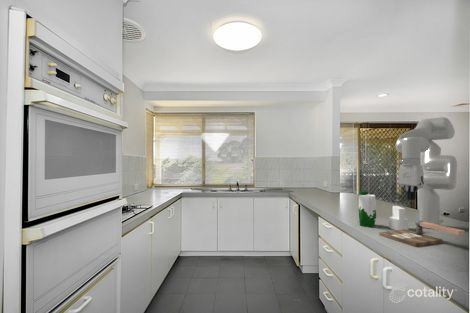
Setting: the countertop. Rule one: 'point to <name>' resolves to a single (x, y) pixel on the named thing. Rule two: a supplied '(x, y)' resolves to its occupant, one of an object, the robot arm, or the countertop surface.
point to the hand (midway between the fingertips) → (411, 199)
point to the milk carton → (367, 209)
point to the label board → (411, 237)
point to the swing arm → (440, 227)
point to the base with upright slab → (398, 219)
